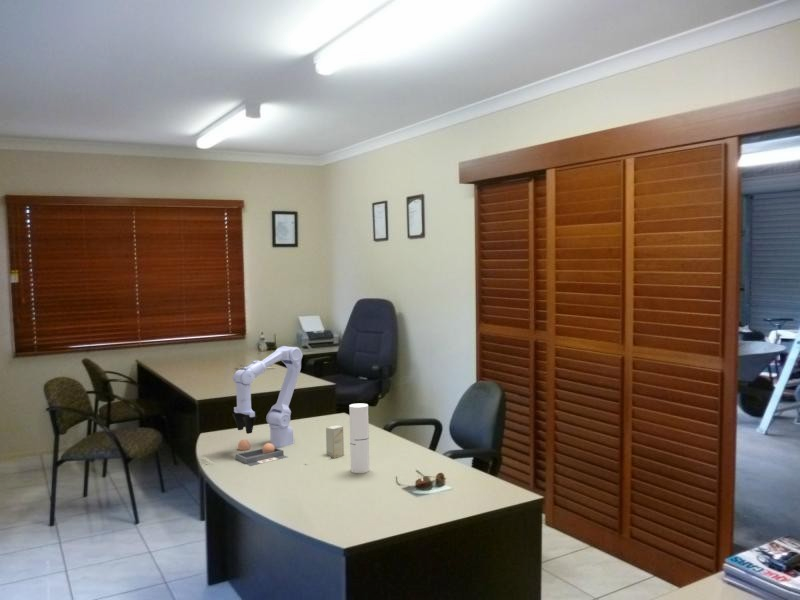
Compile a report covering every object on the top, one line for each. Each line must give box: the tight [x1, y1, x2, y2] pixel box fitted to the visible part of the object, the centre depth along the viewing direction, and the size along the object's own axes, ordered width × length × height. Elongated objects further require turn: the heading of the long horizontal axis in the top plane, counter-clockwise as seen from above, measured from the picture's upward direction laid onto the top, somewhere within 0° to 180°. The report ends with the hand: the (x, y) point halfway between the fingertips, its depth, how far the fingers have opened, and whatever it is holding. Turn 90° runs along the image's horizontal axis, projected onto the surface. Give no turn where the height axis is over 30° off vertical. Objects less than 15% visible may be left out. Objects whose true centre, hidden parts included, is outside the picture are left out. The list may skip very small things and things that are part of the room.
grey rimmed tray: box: [235, 447, 288, 467], centre depth 258 cm, size 17×13×3 cm
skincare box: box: [325, 424, 345, 459], centre depth 262 cm, size 6×4×12 cm
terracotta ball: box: [237, 439, 251, 452], centre depth 272 cm, size 5×5×5 cm
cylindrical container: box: [348, 402, 370, 474], centre depth 243 cm, size 7×7×25 cm
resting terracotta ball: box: [261, 442, 275, 454], centre depth 262 cm, size 5×5×5 cm
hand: (244, 431), depth 264 cm, fingers open, 7 cm apart
